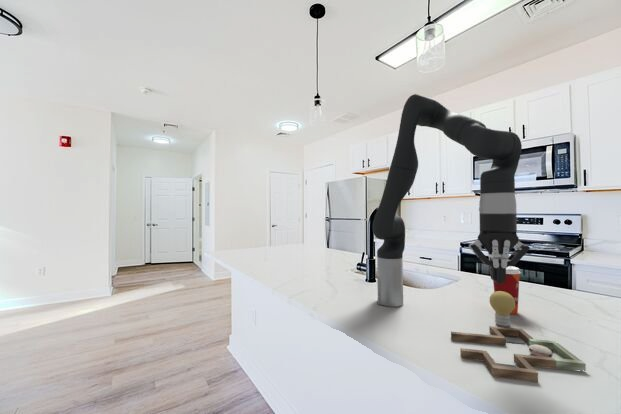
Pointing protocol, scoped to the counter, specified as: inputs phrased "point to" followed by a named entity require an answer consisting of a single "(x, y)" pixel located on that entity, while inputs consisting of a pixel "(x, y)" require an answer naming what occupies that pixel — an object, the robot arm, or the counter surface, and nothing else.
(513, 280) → the coffee cup
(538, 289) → the counter surface
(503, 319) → the light bulb
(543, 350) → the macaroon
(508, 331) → the brown green zigzag frame
